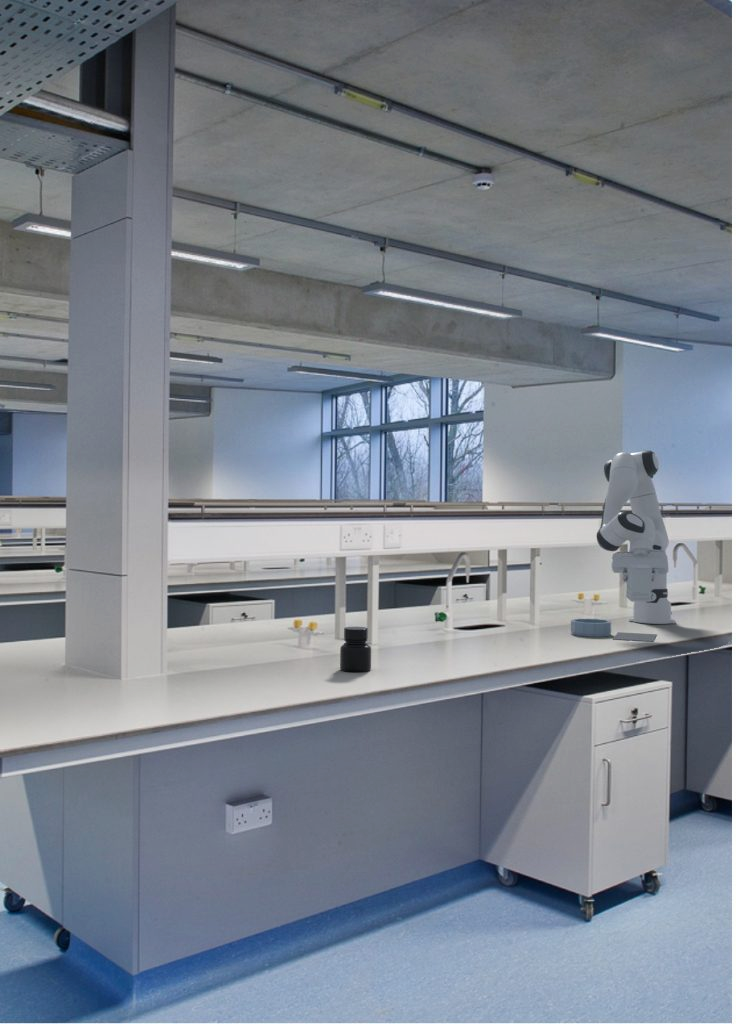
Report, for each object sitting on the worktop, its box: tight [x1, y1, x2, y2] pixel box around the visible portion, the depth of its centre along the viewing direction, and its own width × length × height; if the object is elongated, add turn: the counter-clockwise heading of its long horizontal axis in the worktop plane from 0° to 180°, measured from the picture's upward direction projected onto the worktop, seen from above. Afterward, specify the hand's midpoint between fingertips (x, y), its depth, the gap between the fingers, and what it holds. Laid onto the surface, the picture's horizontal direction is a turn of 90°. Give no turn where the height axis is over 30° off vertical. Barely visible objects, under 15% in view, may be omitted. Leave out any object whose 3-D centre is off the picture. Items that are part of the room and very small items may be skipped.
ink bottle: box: [339, 626, 372, 673], centre depth 267 cm, size 10×9×12 cm
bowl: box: [570, 618, 612, 638], centre depth 349 cm, size 14×14×5 cm
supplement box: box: [625, 564, 652, 603], centre depth 341 cm, size 7×7×13 cm
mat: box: [612, 631, 657, 643], centre depth 343 cm, size 20×14×1 cm
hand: (638, 580), depth 342 cm, fingers closed on supplement box, 8 cm apart
